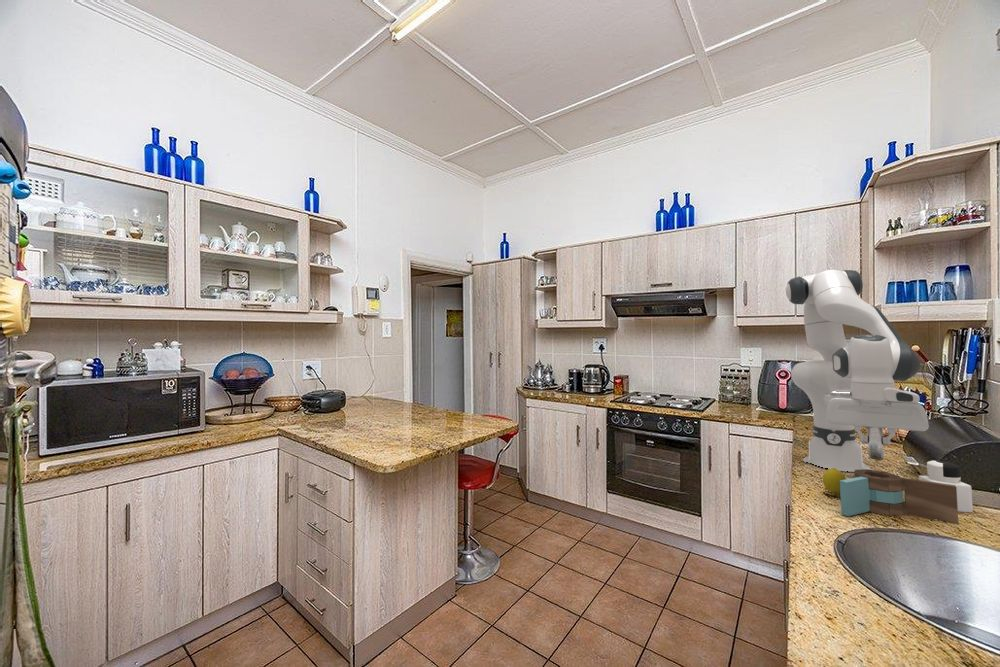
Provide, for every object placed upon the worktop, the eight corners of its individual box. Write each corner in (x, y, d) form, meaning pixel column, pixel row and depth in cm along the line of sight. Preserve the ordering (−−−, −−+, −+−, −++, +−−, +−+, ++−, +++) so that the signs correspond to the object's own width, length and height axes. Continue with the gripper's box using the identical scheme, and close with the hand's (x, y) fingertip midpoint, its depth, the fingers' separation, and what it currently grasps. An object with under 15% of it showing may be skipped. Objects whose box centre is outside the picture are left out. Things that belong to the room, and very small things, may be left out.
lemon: (838, 492, 118) (837, 465, 119) (852, 499, 113) (851, 471, 113) (818, 491, 119) (817, 465, 119) (832, 498, 113) (831, 470, 114)
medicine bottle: (952, 502, 109) (949, 459, 110) (973, 513, 102) (970, 467, 103) (919, 500, 111) (917, 457, 112) (938, 510, 105) (936, 465, 105)
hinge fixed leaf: (855, 499, 113) (854, 467, 113) (953, 516, 100) (951, 481, 101) (857, 509, 106) (855, 475, 106) (962, 529, 94) (959, 491, 94)
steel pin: (868, 456, 109) (866, 416, 109) (883, 458, 107) (880, 418, 107) (869, 458, 106) (866, 418, 107) (884, 460, 104) (881, 419, 105)
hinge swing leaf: (868, 498, 112) (867, 468, 112) (910, 511, 103) (908, 478, 104) (825, 508, 106) (823, 476, 106) (865, 522, 97) (863, 487, 98)
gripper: (823, 391, 112) (825, 440, 111) (928, 396, 98) (931, 451, 98) (823, 390, 117) (826, 436, 116) (923, 394, 103) (927, 446, 103)
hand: (875, 443), depth 107 cm, fingers closed on steel pin, 3 cm apart
